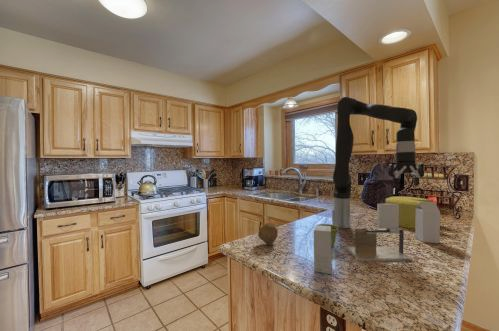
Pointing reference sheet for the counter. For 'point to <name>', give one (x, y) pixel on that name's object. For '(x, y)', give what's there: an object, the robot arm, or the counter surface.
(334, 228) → the plant pot
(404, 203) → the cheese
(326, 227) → the skincare box
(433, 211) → the milk carton
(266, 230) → the natural sponge
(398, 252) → the pin leaf jig
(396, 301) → the counter surface
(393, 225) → the knuckle leaf
